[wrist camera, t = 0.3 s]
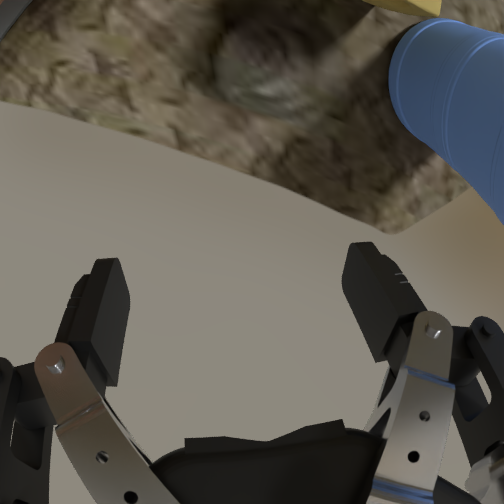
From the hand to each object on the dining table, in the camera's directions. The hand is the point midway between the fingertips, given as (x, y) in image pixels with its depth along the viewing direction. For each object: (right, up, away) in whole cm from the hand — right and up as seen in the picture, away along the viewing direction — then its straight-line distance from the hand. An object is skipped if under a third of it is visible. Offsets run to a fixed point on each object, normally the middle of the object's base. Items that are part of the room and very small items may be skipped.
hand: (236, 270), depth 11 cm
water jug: (+22, +20, +16) cm, 34 cm away
